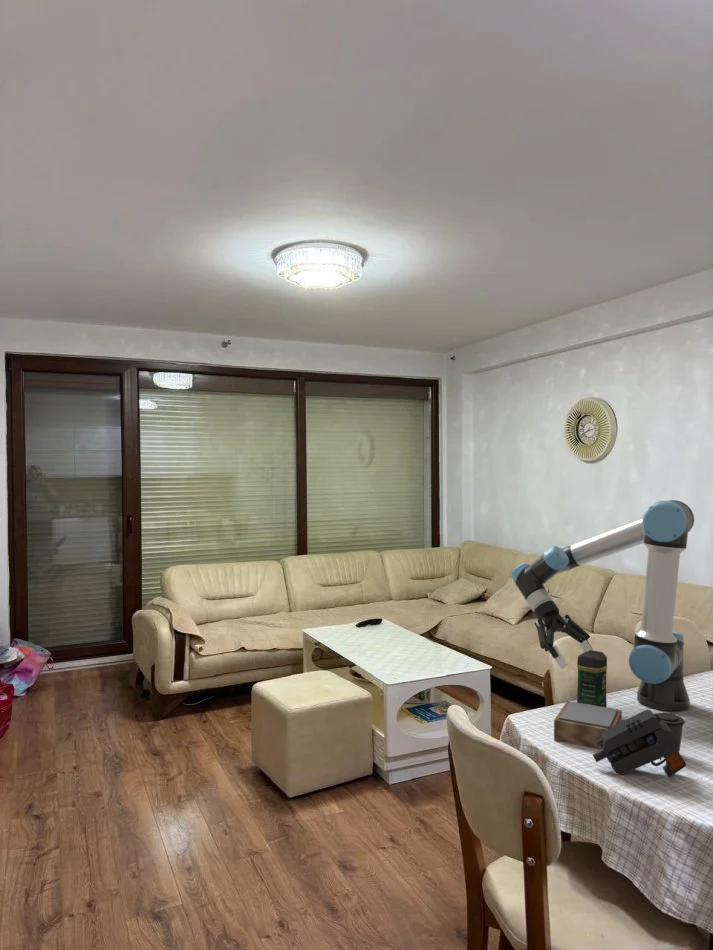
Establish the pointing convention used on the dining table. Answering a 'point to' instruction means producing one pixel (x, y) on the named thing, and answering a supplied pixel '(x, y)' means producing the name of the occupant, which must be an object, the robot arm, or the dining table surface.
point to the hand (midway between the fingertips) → (579, 663)
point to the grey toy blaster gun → (640, 744)
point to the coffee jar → (592, 678)
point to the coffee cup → (673, 725)
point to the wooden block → (584, 723)
